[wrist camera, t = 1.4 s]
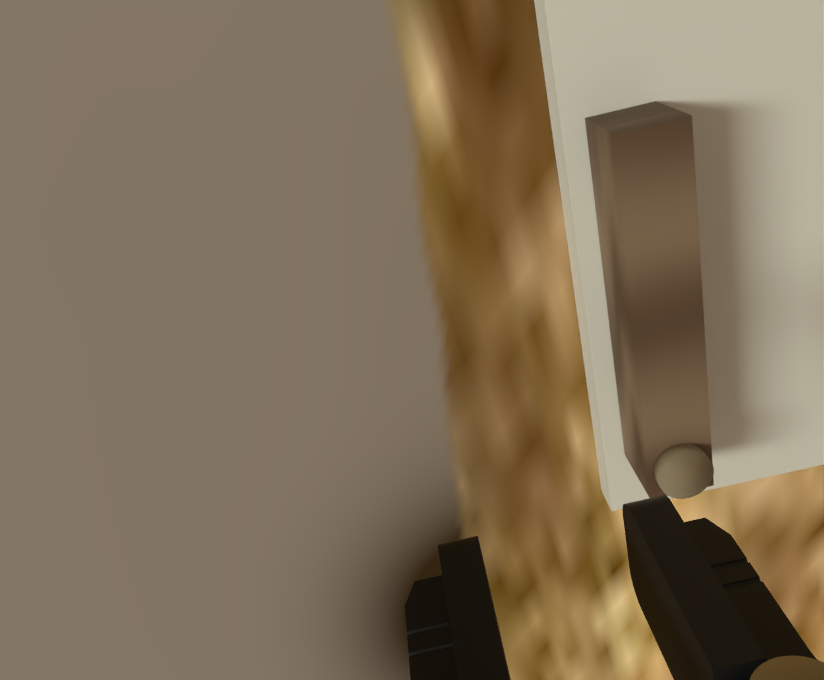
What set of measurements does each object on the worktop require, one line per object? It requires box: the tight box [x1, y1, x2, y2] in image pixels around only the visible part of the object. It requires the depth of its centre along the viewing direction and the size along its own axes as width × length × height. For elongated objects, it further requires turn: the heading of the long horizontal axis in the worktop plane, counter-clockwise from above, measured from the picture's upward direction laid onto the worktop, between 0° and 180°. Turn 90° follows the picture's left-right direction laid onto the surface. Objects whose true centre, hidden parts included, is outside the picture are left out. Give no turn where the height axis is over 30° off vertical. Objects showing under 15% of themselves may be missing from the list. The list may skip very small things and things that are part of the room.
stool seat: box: [534, 0, 824, 511], centre depth 29 cm, size 21×15×2 cm
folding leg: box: [585, 101, 714, 499], centre depth 27 cm, size 14×2×4 cm, turn 12°
